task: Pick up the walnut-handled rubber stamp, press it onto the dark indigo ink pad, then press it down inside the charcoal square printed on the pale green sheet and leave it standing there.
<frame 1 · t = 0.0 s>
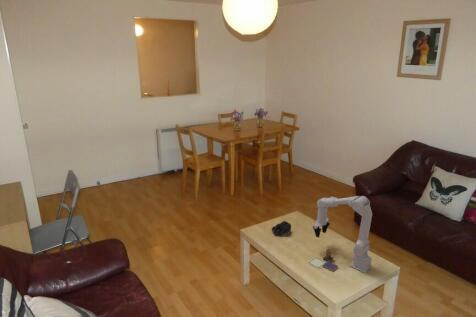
hand: (320, 234, 222), 10 cm above the table, fingers open, 7 cm apart
ink pad: (330, 267, 206), on the table
sheet: (317, 262, 210), on the table
stamp: (328, 259, 213), on the table
crystal cluster: (281, 232, 245), on the table
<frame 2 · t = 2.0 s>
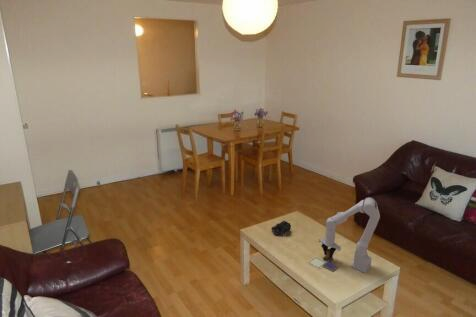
hand: (328, 255, 212), 3 cm above the table, fingers closed on stamp, 3 cm apart
stamp: (328, 259, 213), on the table, touching gripper
everything else where it was.
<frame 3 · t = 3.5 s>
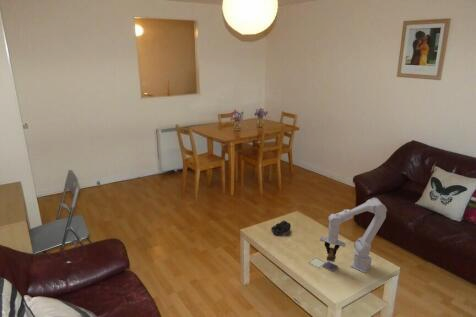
hand: (331, 254, 203), 9 cm above the table, fingers closed on stamp, 3 cm apart
stamp: (331, 259, 204), point 6 cm above the table, touching gripper
everything else where it was.
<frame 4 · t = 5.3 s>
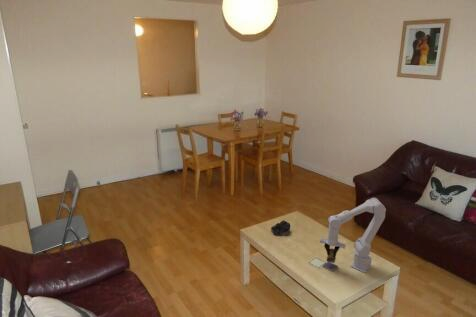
hand: (331, 255, 203), 8 cm above the table, fingers closed on stamp, 3 cm apart
stamp: (331, 260, 204), point 5 cm above the table, touching gripper
everything else where it was.
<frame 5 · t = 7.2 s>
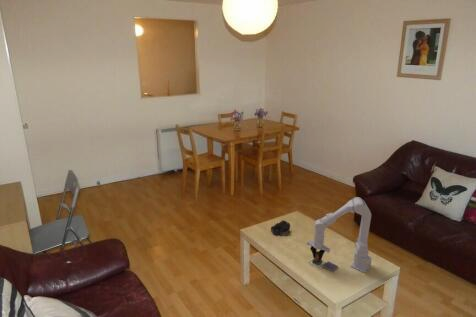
hand: (317, 258, 209), 3 cm above the table, fingers closed on stamp, 3 cm apart
stamp: (317, 262, 210), resting on sheet, touching gripper
when the fingers open (3 cm above the table, at t = 8.4 s): stamp stays where it is, resting on sheet.
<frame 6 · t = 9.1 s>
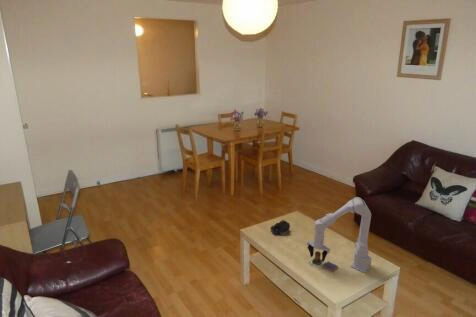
hand: (317, 258, 209), 3 cm above the table, fingers open, 7 cm apart
stamp: (317, 262, 210), resting on sheet
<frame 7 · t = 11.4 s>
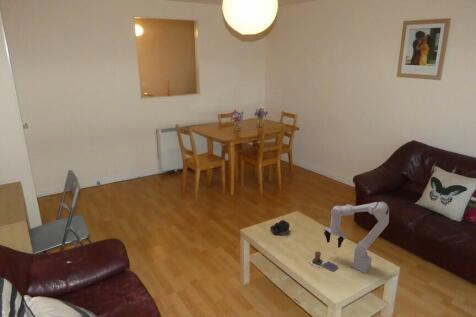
hand: (333, 244, 211), 10 cm above the table, fingers open, 7 cm apart
at the end: stamp 0.0 cm off-centre on the sheet, point 0.2 cm above the sheet's base; stamp tilted 0°; the gripper is holding nothing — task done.
